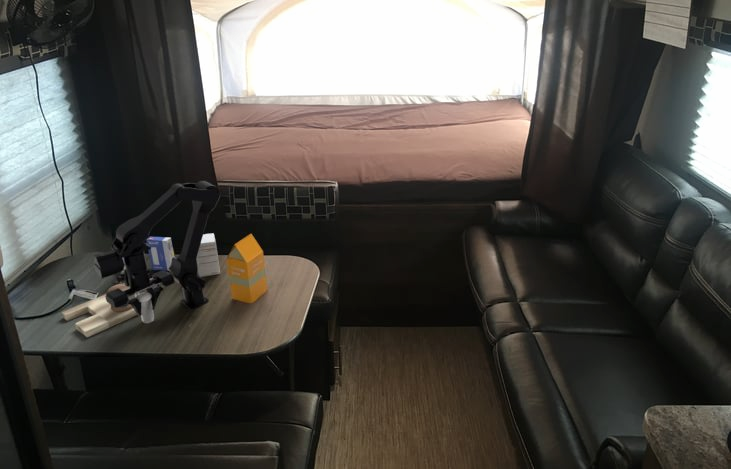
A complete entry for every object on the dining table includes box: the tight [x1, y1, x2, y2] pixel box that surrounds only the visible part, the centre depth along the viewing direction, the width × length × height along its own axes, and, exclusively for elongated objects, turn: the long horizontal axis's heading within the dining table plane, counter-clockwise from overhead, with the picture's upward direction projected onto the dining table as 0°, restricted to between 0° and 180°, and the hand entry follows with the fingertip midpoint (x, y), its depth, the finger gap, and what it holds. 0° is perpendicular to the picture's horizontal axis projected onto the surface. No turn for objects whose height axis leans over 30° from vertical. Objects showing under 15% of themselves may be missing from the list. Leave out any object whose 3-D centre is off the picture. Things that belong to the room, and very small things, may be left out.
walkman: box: [145, 236, 176, 272], centre depth 197 cm, size 8×3×12 cm, turn 81°
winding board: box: [61, 293, 138, 338], centre depth 173 cm, size 16×20×2 cm
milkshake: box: [135, 291, 155, 324], centre depth 167 cm, size 4×5×10 cm
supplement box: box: [197, 232, 221, 278], centre depth 194 cm, size 7×7×13 cm
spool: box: [106, 283, 133, 312], centre depth 172 cm, size 7×7×6 cm
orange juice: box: [226, 233, 268, 304], centre depth 178 cm, size 8×9×20 cm
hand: (146, 312), depth 168 cm, fingers closed on milkshake, 4 cm apart
